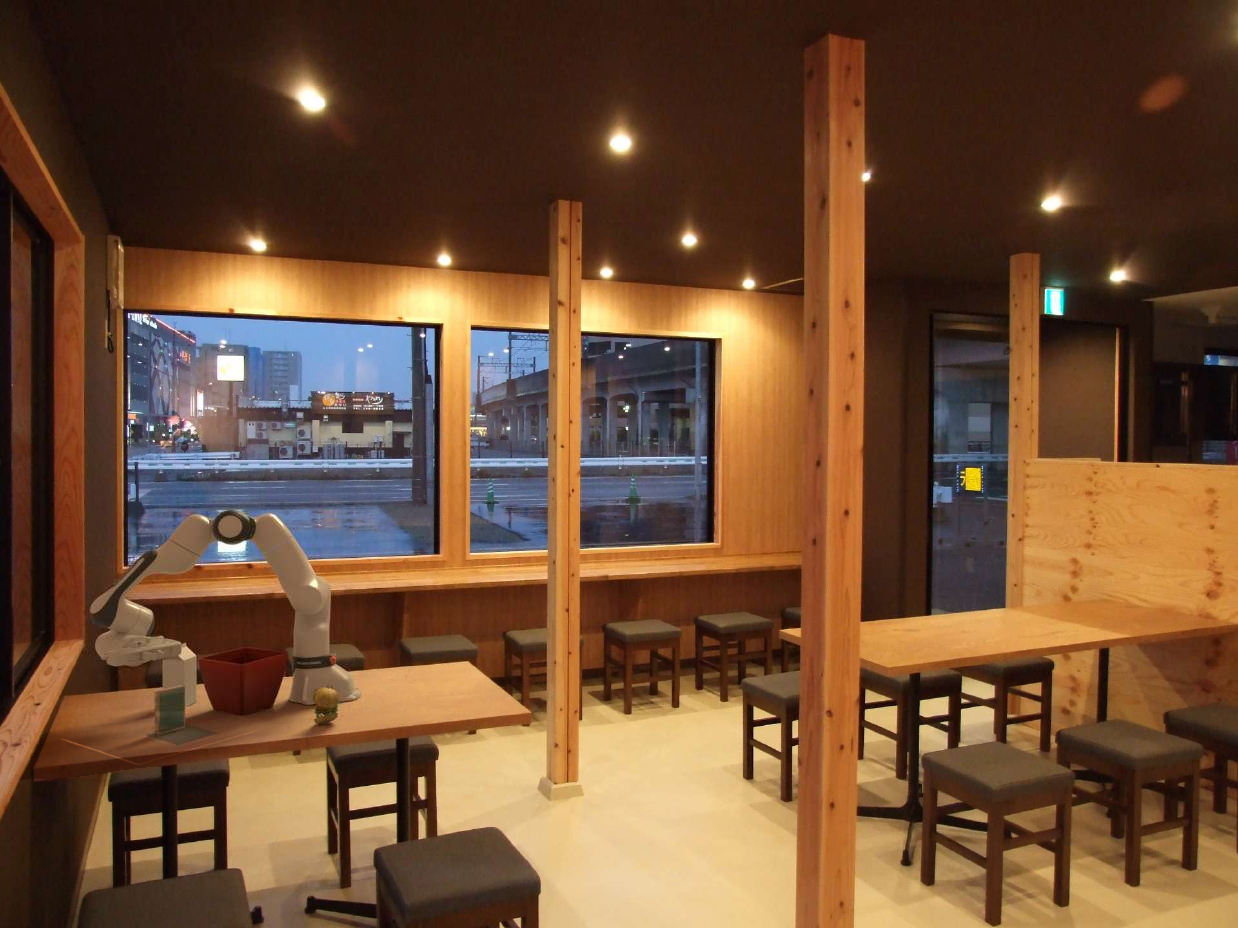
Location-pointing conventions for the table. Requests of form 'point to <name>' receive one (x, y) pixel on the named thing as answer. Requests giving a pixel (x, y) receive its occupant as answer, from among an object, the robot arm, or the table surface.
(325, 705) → the hamburger
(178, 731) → the mat
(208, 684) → the plant pot
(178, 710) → the picture frame
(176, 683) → the milk carton
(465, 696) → the table surface
